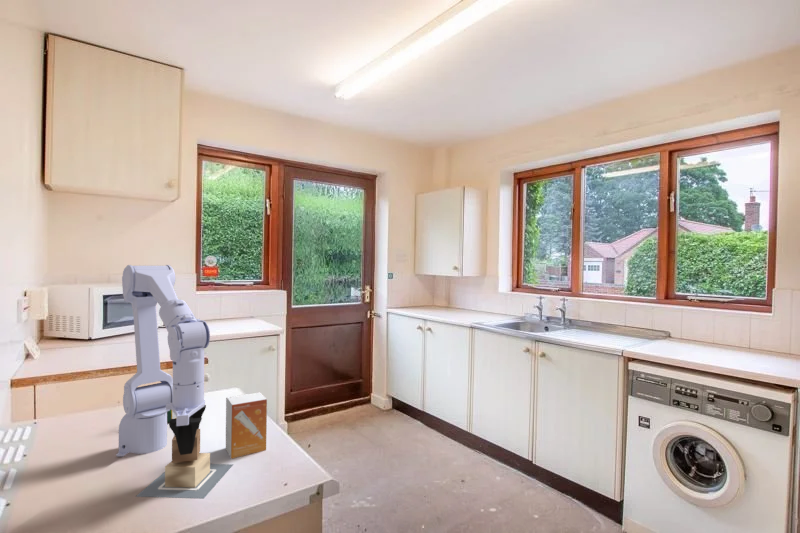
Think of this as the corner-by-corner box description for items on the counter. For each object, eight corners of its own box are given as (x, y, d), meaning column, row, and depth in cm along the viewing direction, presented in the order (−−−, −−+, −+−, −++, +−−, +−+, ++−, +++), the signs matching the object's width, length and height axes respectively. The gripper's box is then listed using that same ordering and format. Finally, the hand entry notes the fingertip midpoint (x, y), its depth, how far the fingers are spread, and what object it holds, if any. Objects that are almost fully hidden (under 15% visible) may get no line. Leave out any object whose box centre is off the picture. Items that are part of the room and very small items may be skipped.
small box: (230, 462, 94) (231, 404, 94) (225, 451, 99) (225, 396, 99) (267, 453, 98) (267, 398, 98) (259, 443, 103) (260, 391, 103)
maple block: (165, 486, 82) (165, 466, 82) (181, 471, 88) (181, 452, 88) (195, 487, 82) (195, 467, 82) (209, 472, 88) (210, 453, 88)
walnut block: (171, 463, 82) (171, 440, 82) (176, 453, 86) (176, 431, 86) (197, 459, 83) (197, 437, 83) (200, 450, 87) (200, 428, 87)
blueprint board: (135, 500, 78) (135, 495, 78) (175, 466, 91) (175, 462, 91) (203, 502, 78) (203, 497, 78) (233, 468, 91) (233, 463, 91)
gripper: (173, 373, 90) (173, 436, 90) (158, 394, 76) (157, 467, 76) (209, 371, 92) (208, 432, 92) (200, 390, 79) (200, 462, 79)
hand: (188, 448), depth 85 cm, fingers closed on walnut block, 4 cm apart
